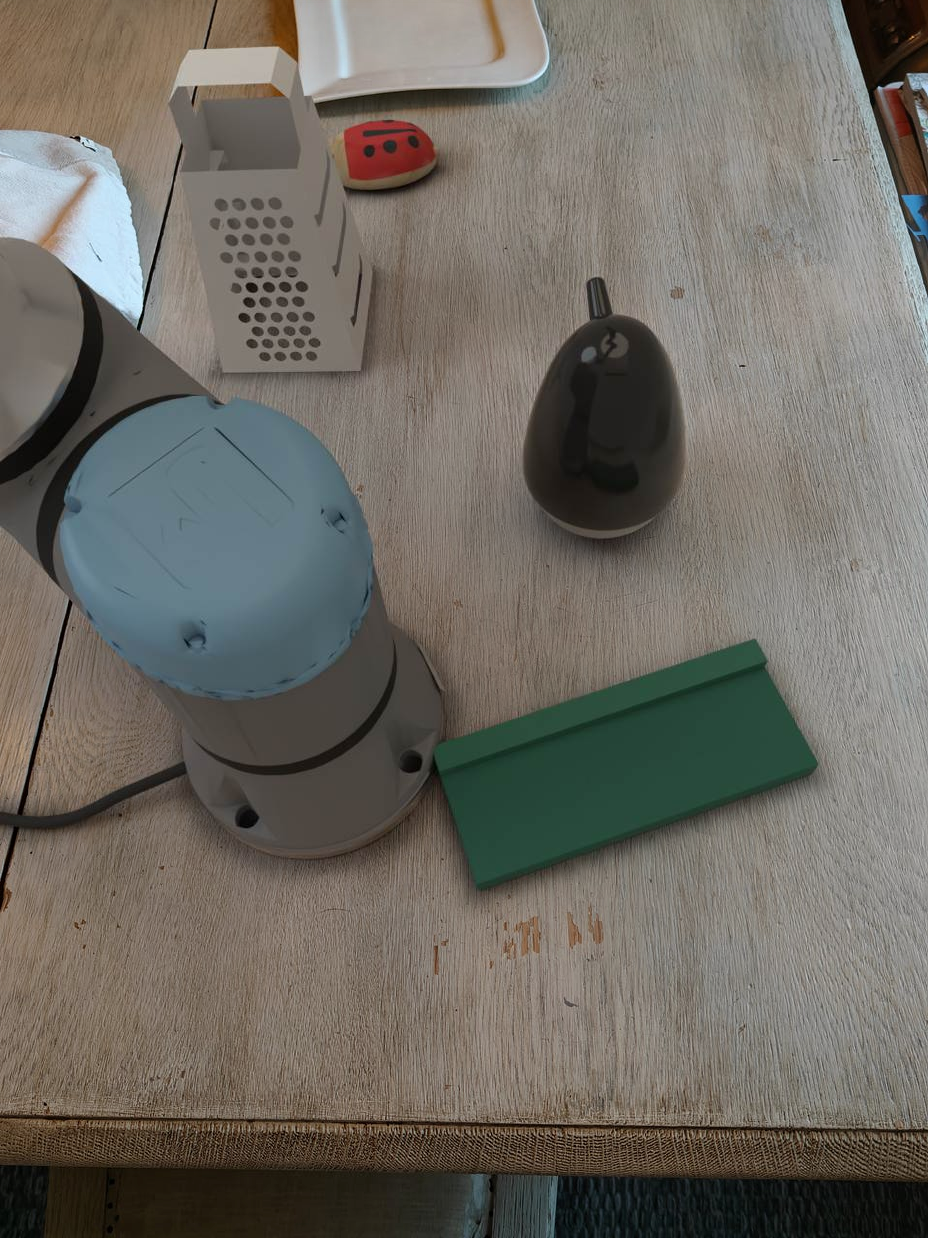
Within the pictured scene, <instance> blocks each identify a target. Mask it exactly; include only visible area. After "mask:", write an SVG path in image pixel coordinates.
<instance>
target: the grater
mask: <svg viewBox="0 0 928 1238" xmlns="http://www.w3.org/2000/svg"><path fill="white" fill-rule="evenodd" d="M177 71H178V72H177V75H176V77H175V81H174V84H173V87H172V91H171V94H170V97H169V100H168V102H167V103H168V107H169V111H170V112H171V116H172V118H173V121H174V124H175V127H176V129H177V133H178V136H179V138H180V141H181V144H182V147H183V150H184V152H185V154H184V157H183V161H182V164H181V167H180V171H179V173H180V177H181V183H182V188H183V192H184V195H185V201H186V206H187V211H188V216H189V220H190V225H191V230H192V234H193V238H194V239H193V240H194V245H195V249H196V253H197V259H198V263H199V268H200V272H201V276H202V281H203V286H204V290H205V295H206V300H207V305H208V309H209V313H210V319H211V323H212V328H213V334H214V337H215V342H216V347H217V352H218V356H219V361H220V366H221V370H222V374H235V373H237V374H239V373H241V374H244V373H307V372H308V373H309V372H311V373H312V372H313V373H314V372H315V373H316V372H317V373H319V372H320V373H321V372H361V371H362V364H363V363H362V362H363V356H364V355H363V354H364V348H365V339H366V331H367V325H368V324H367V323H368V315H369V308H370V300H371V292H372V284H373V275H374V272H373V269H372V266H371V263H370V260H369V258H368V254H367V252H366V249H365V246H364V243H363V241H362V238H361V234H360V231H359V228H358V225H357V223H356V220H355V216H354V214H353V211H352V208H351V206H350V202H349V200H348V196H347V194H346V191H345V187H344V186H343V185H342V182H341V179H340V176H339V174H338V171H337V168H336V165H335V162H334V159H333V156H332V153H331V150H330V148H329V146H330V145H329V142H328V139H327V136H326V133H325V130H324V128H323V125H322V121H321V118H320V116H319V114H318V110H317V108H316V105H315V101H314V99H313V96H312V95H305V93H304V88H303V83H302V77H301V74H300V68H299V65H298V62H297V61H296V60H295V59H294V58H293V57H292V56H291V55H289V54H288V53H287V52H286V51H285V50H284V49H283V48H281V46H259V47H258V46H256V47H255V46H253V47H233V48H232V47H231V48H204V49H202V48H201V49H188V51H187V52H186V55H185V57H184V58H183V60H182V62H181V64H180V66H179V68H178V70H177ZM259 84H271V85H272V86H273V87H274V88H275V89H277V91H279V92H280V93H281V94H282V95H284V96H266V97H265V96H264V97H263V96H261V97H235V98H206V99H200V102H199V105H198V109H197V112H195V110H194V106H193V103H192V99H191V96H190V94H189V91H188V88H187V87H199V86H200V87H201V86H203V87H204V86H205V87H206V86H227V85H228V86H231V85H259ZM221 223H222V228H221V229H219V228H220V225H221ZM360 274H362V275H361V283H360V289H359V298H358V305H357V313H356V319H355V323H354V325H353V322H352V319H351V318H352V317H353V316H354V315H355V308H356V300H357V293H358V285H359V278H360V277H359V276H360ZM290 275H293V276H294V275H295V276H294V277H291V276H290ZM255 276H262V277H259V278H258V277H255ZM273 276H279V277H273ZM284 282H285V283H288V284H289V285H290V286H291V287H290V288H291V290H290V291H287V292H286V291H283V290H281V287H280V284H281V283H284ZM299 282H303V283H305V284H306V285H307V290H306V291H300V290H298V289H297V287H296V284H297V283H299ZM249 283H253V284H255V285H256V286H257V291H256V292H250V291H249V290H248V289H247V286H246V285H247V284H249ZM265 283H271V284H272V285H273V286H274V291H272V292H267V291H266V290H265V289H264V287H263V286H264V284H265ZM230 285H231V287H230ZM281 297H282V298H284V299H286V300H287V302H288V304H287V305H286V306H280V305H279V304H278V303H277V299H278V298H281ZM295 297H299V298H301V299H303V301H304V304H302V306H297V305H296V304H294V303H293V299H294V298H295ZM246 298H250V299H252V300H254V302H255V305H254V306H253V307H248V306H247V305H245V303H244V300H245V299H246ZM261 298H267V299H269V301H271V305H270V306H268V307H266V306H263V305H261V303H260V299H261ZM308 312H309V313H311V314H313V316H314V319H313V320H312V321H306V320H305V319H304V317H303V315H304V314H305V313H308ZM258 313H260V314H263V315H264V316H265V319H266V320H265V321H264V322H259V321H258V320H256V318H255V315H256V314H258ZM273 313H277V314H280V315H281V317H282V320H281V321H279V322H277V321H274V320H273V319H272V314H273ZM289 313H294V314H296V315H297V317H298V320H297V321H290V319H288V317H287V315H288V314H289ZM240 314H246V315H248V316H249V318H250V320H249V321H248V322H243V321H242V320H240V318H239V315H240ZM271 327H274V328H277V330H278V331H279V333H278V334H277V335H271V334H270V333H269V332H268V329H269V328H271ZM286 327H292V328H293V329H294V331H295V333H294V334H293V335H288V334H286V333H285V331H284V329H285V328H286ZM301 327H307V328H309V329H310V334H308V335H304V334H303V333H301V332H300V328H301ZM253 328H260V329H261V330H262V331H263V334H262V335H260V336H258V335H255V334H254V333H253ZM281 339H284V340H286V341H287V342H288V344H289V346H288V347H281V346H280V345H279V340H281ZM296 339H300V340H302V341H303V342H304V346H303V347H297V346H296V345H295V344H294V341H295V340H296ZM311 339H317V341H319V342H320V345H319V346H317V347H314V346H311V345H310V343H309V341H310V340H311ZM248 340H254V341H255V342H256V343H257V347H254V348H252V347H250V346H248V344H247V342H248ZM264 340H270V341H271V342H272V343H273V345H272V346H271V347H270V348H269V347H265V346H264V344H263V343H262V342H263V341H264ZM294 352H296V353H299V354H300V355H301V359H300V360H294V359H293V358H292V357H291V354H292V353H294ZM308 352H312V353H314V354H315V355H316V359H313V360H311V359H308V358H307V356H306V354H307V353H308ZM261 353H266V354H267V355H269V356H270V359H269V360H267V361H265V360H263V359H261V358H260V354H261ZM277 353H282V354H283V355H285V359H284V360H278V359H277V358H276V357H275V354H277Z"/></svg>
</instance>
